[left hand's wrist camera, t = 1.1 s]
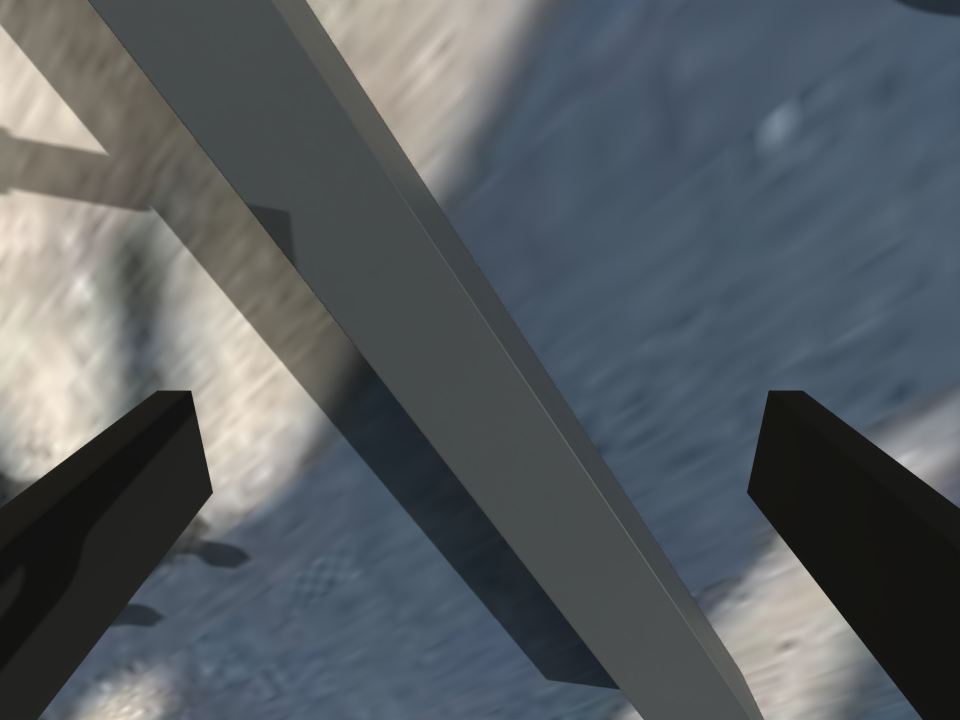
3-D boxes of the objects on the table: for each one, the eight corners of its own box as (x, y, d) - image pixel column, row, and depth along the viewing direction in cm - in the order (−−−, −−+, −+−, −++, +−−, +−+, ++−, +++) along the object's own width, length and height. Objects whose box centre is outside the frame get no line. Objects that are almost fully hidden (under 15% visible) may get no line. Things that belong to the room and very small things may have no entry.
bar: (109, -83, 25) (-51, -179, 18) (197, -168, 24) (65, -309, 16) (675, 697, 44) (714, 811, 36) (741, 671, 42) (795, 783, 35)
